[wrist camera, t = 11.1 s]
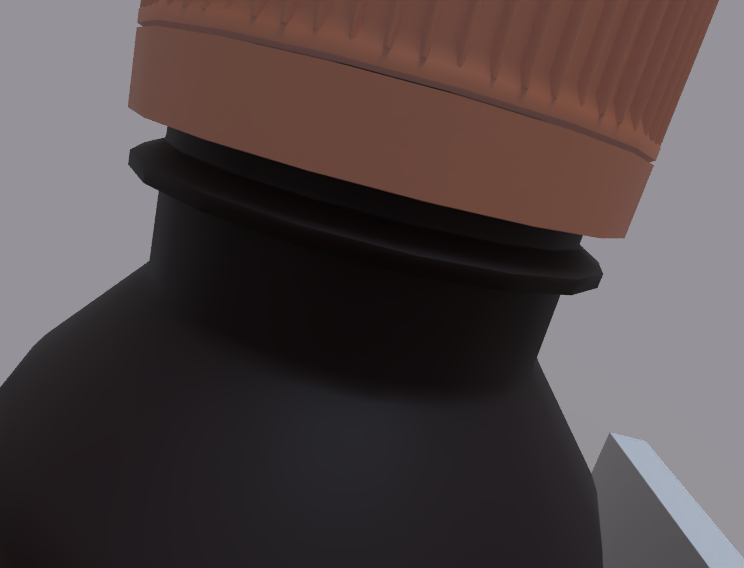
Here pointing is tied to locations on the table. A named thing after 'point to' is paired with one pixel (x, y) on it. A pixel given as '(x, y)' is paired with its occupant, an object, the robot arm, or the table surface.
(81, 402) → the black water bottle
